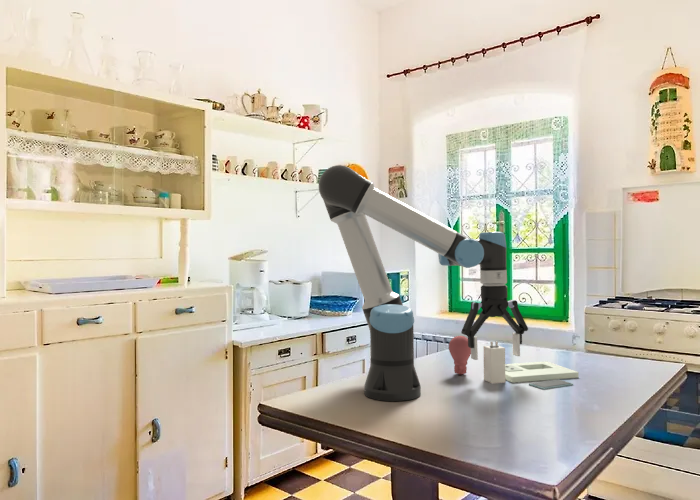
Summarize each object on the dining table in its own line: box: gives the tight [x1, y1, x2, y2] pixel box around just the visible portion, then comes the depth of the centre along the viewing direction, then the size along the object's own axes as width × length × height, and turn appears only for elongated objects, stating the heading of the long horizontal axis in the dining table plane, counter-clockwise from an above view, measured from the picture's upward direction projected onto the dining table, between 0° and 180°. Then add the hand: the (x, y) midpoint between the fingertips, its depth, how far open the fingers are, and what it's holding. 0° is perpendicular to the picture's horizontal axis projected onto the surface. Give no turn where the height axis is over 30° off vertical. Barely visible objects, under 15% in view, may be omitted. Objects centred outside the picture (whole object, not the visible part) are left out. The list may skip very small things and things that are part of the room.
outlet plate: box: [505, 360, 580, 384], centre depth 169 cm, size 22×16×2 cm
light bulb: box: [448, 335, 471, 376], centre depth 169 cm, size 7×7×12 cm
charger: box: [483, 340, 506, 385], centre depth 161 cm, size 4×4×12 cm
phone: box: [528, 379, 574, 391], centre depth 156 cm, size 11×6×1 cm, turn 114°
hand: (495, 357), depth 161 cm, fingers open, 13 cm apart
